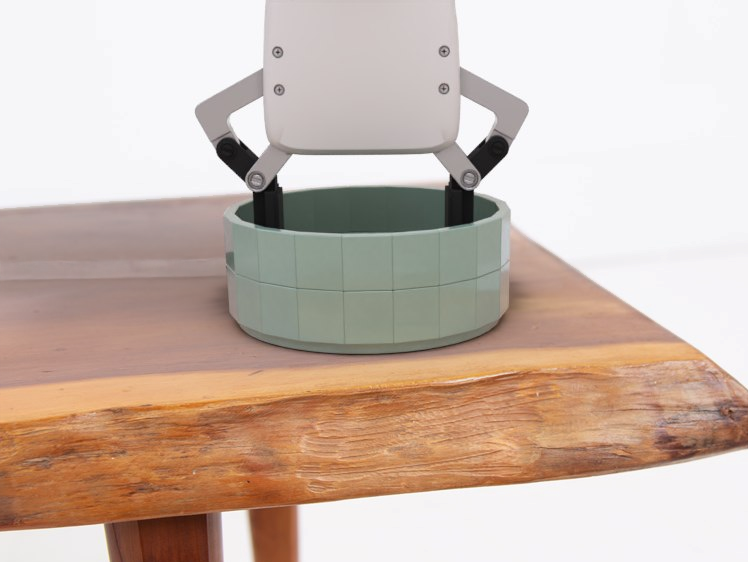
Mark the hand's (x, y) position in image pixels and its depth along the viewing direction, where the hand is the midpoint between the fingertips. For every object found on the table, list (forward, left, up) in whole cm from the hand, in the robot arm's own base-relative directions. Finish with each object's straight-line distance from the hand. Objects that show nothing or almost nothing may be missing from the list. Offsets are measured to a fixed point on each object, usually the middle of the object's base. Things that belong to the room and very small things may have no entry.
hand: (364, 260), depth 61 cm
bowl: (0, 0, -3) cm, 3 cm away
